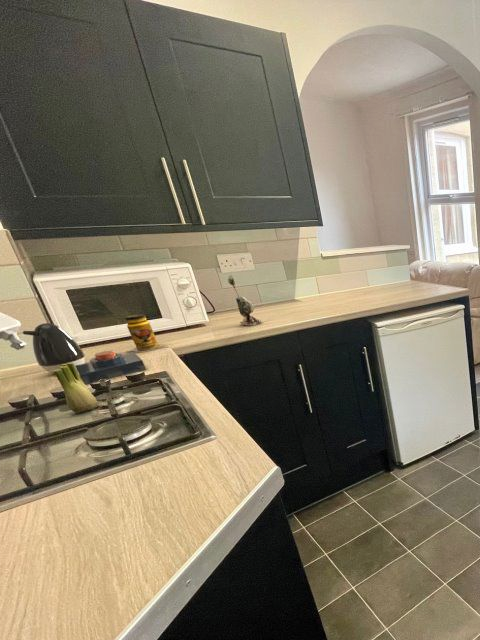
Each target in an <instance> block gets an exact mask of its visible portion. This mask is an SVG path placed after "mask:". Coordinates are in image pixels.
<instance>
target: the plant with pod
mask: <svg viewBox="0 0 480 640" xmlns="http://www.w3.org/2000/svg"><path fill="white" fill-rule="evenodd" d="M227 282H228V284H229V285H231V286H232V287H233V289H234V291H235V293H236V295H237V297H235V300H236V305H237V308H238V311H239V314H240V316H242V317H243V318H242V321H240V322H239V325H240V326H241V325H242V326H250V327H251V326H256V325H259V324H262V320H261V319H258V318H256V317H255V316H253V315H251V314H252V313H253V312H254V309H255V307H254V304H253V303H252V302H251V301H250V300H249V299H248V298H246V297H245V296H242V295H239V293H238V291H237V289H236V286H235V285H236V282H235V279H234V276H233V275H231V274H230V275H228V278H227Z"/></svg>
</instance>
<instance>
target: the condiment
mask: <svg viewBox="0 0 480 640" xmlns="http://www.w3.org/2000/svg"><path fill="white" fill-rule="evenodd" d="M124 320H126V328H127V329H128V332H129V334H130V336H131V339H132V341H133V343H134V345H135V348H132V349H128V350H127V352H136V353H137V352H139V353H140V352H141V353H147V352H150V351H152V350H156V349H159V348H161V347H163V346H164V344H162V343H161V344H159V342H158V339H157V338H156V335H155V333H154V330H153V328H152V325H151V323H150V321H148V320H147V317H146V315H145V314H144V313H136V314H130V315H127V316H125V317H124Z"/></svg>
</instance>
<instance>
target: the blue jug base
mask: <svg viewBox="0 0 480 640" xmlns="http://www.w3.org/2000/svg"><path fill="white" fill-rule="evenodd" d="M114 353H115V355H116V356H115V357H113V358H110V359H105V360H96V358H95V357H93V358H91V359H89V362H86V363H85V362H84V364H81V365H76V366H75V367H76V369H77V373H78V375H79V377H80V379H81V380H82V381H83V383H84V384H85V385H86V386H87V385H91V384H94V383H93V382H95V383H98V382H97V381H99V380H100V379H107V380H110V379H114V378H118V377H122V376H127V375H130V374H134V373H139V372H143V371H147V368H146V365H145V363H144V361H143V360H142V359H141V357H140V356H138V354H136V353H135V352H130V353H126V354H123V353H121V352H114ZM99 382H100V381H99Z"/></svg>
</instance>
